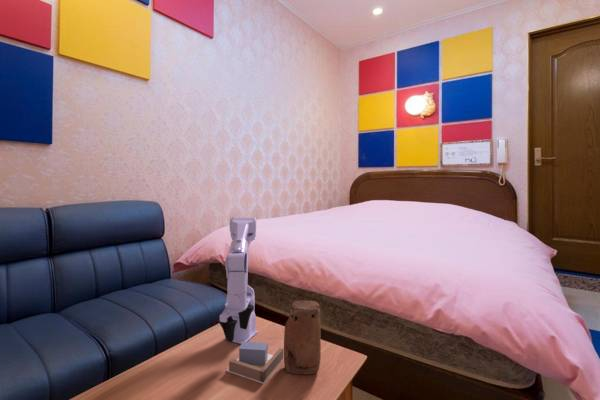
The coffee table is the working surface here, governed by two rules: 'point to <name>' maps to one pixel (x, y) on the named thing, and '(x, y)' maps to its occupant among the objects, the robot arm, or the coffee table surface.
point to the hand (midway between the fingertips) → (236, 334)
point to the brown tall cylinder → (303, 338)
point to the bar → (253, 353)
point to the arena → (256, 367)
